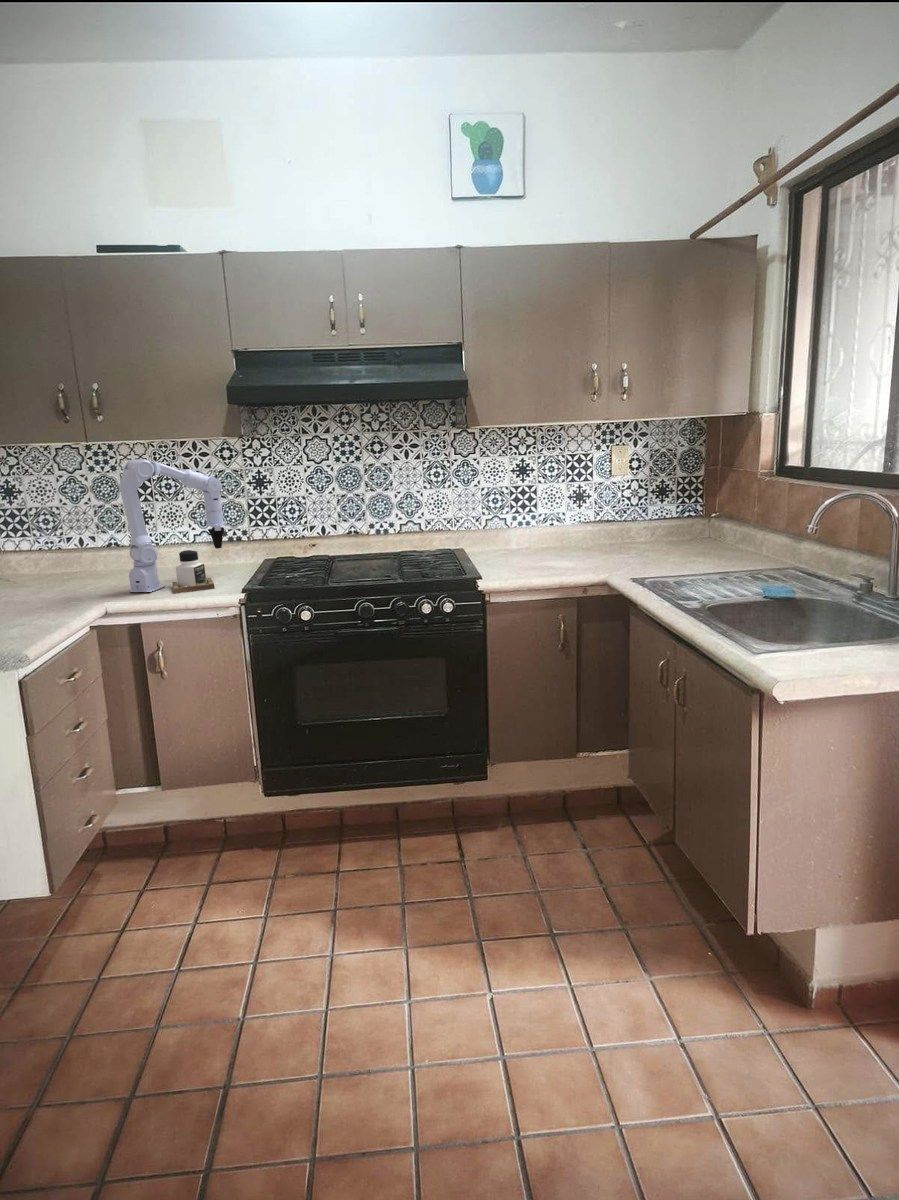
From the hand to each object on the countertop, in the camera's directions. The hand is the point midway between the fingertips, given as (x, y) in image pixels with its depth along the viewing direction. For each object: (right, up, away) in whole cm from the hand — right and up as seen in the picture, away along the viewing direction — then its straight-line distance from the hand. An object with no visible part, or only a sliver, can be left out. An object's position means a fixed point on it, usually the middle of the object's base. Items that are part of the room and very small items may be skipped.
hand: (218, 548), depth 280 cm
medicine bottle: (-6, -14, -9) cm, 18 cm away
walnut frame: (-4, -14, -14) cm, 21 cm away
